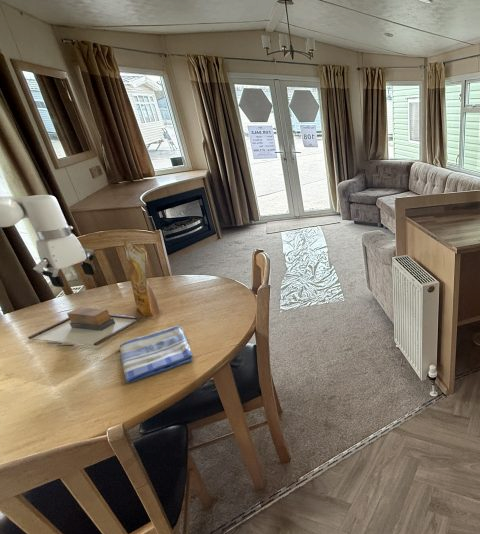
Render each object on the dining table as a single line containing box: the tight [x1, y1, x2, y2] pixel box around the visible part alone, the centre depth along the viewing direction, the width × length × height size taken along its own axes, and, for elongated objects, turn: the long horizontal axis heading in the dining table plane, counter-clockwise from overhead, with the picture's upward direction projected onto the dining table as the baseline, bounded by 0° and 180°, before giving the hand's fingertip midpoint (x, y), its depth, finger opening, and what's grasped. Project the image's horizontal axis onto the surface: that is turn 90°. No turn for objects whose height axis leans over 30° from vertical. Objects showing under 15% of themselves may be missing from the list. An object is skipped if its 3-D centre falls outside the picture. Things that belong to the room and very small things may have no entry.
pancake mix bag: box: [121, 239, 160, 317], centre depth 129 cm, size 7×19×28 cm, turn 51°
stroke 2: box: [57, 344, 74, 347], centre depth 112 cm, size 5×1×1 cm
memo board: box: [27, 313, 144, 347], centre depth 121 cm, size 26×17×2 cm, turn 83°
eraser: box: [66, 306, 115, 331], centre depth 121 cm, size 12×5×6 cm, turn 83°
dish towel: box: [119, 325, 194, 384], centre depth 110 cm, size 17×24×3 cm
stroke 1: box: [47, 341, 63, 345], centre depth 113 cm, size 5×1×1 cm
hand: (75, 280), depth 118 cm, fingers open, 9 cm apart
